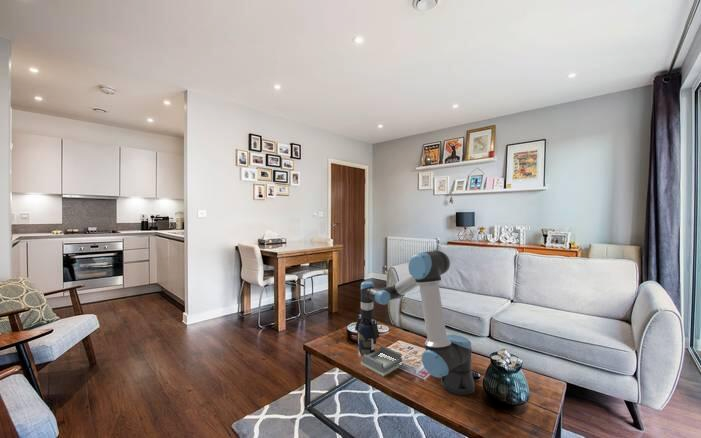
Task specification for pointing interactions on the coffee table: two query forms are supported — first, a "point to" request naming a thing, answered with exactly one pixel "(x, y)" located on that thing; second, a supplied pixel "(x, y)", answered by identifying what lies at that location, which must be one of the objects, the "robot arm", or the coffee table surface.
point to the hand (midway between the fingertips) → (366, 345)
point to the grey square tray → (382, 361)
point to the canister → (365, 339)
